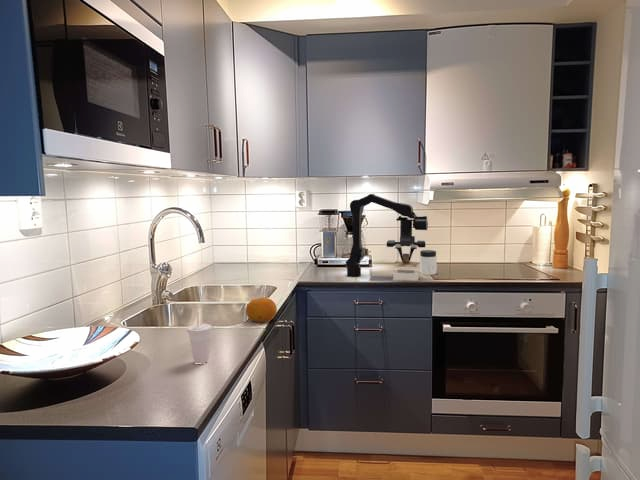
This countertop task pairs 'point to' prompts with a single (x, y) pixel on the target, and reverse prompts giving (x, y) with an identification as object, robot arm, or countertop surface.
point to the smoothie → (200, 341)
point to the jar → (428, 262)
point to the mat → (382, 278)
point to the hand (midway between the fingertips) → (405, 261)
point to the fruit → (261, 309)
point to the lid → (406, 262)
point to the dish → (405, 275)
